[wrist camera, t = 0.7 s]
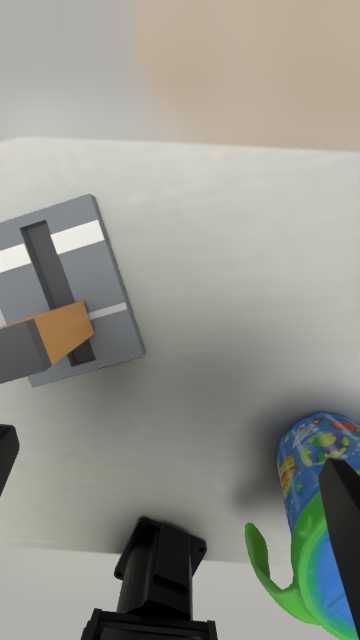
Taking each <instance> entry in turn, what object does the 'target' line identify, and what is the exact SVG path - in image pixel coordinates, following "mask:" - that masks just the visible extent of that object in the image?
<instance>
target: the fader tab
mask: <svg viewBox="0 0 360 640" xmlns="http://www.w3.org/2000/svg"><path fill="white" fill-rule="evenodd" d="M93 334H95V333H94V331H93V328H92V325H91V322H90V319H89V316H88V314H87V311H86V308H85V305H84V302H83V301H79V302H76V303H73V304H69V305H66V306H63V307H59V308H56V309H53V310H49V311H46V312H43V313H39V314H36V315H33V316H30V317H27V318H25V319H22V320H19V321H16V322H13V323H10V324H7V325H4V326H1V327H0V384H1V383H5V382H8V381H12V380H15V379H19V378H22V377H26V376H29V375H33V374H36V373H40V372H43V371H46V370H47V369H48V368H50V367H51V366H52V365H54V364H55V363H56V362H58V361H59V360H60V359H61V358H63V357H64V356H65V355H67V354H68V353H69V352H71V351H72V350H73V349H75V348H76V347H77V346H79V345H80V344H81V343H83V342H84V341H85V340H87V339H88V338H89V337H91V336H92V335H93Z"/></svg>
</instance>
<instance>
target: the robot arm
mask: <svg viewBox="0 0 360 640" xmlns="http://www.w3.org/2000/svg"><path fill="white" fill-rule="evenodd" d="M18 451H19V440H18V437H17V433H16V429H15V427H14V426H13V425H5V424H0V496H1V494H2V491H3V489H4V486H5V484H6V481H7V479H8V476H9V474H10V471H11V469H12V466H13V464H14V462H15V459H16V457H17V454H18ZM318 481H319V487H320V492H321V498H322V503H323V508H324V513H325V518H326V524H327V529H328V534H329V538H330V543H331V546H332V550H333V554H334V557H335V560H336V564H337V567H338V571H339V574H340V577H341V581H342V584H343V588H344V591H345V594H346V598H347V601H348V605H349V608H350V611H351V615H352V618H353V622H354V625H355V628H356V632H357V635H358V639H359V640H360V475H359V474H358V473H357V472H356V471H355V470H354V469H353V468H352V467H351V466H350V465H349V464H348V463H347V462H346V461H345V460H344V459H342V458H335V457H328V458H327V459H326V461H325V463H324V465H323V467H322V469H321V471H320V473H319V477H318ZM142 524H144V525H142ZM200 547H202V548H200ZM206 551H207V545H206V543H205V542H204V541H202V540H200V539H197V538H194V537H192V536H189V535H187V534H184V533H182V532H179V531H177V530H174V529H172V528H169V527H167V526H164V525H162V524H159V523H157V522H154V521H152V520H149V519H147V518H140V519H139V520H138V522H137V524H136V526H135V528H134V530H133V532H132V534H131V536H130V538H129V540H128V542H127V545H126V547H125V549H124V551H123V553H122V555H121V557H120V559H119V561H118V564H117V566H116V568H115V571H114V576H115V577H116V578H117V579H120V580H122V581H123V582H122V587H121V592H120V597H119V601H118V607H117V611H116V612H109V611H102V609H97V608H95V609H94V611H93V614H92V617H91V619H90V621H88V622H87V625H86V627H85V628H84V630H83V634H82V637H81V640H218V639H217V632H216V625H215V621H210V620H207V622H203V621H194V620H193V614H192V613H193V611H192V607H193V606H192V577H193V575H194V573H195V572H196V570H197V568H198V566H199V564H200V562H201V561H202V559H203V557H204V555H205V553H206Z"/></svg>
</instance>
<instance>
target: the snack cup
mask: <svg viewBox="0 0 360 640" xmlns="http://www.w3.org/2000/svg"><path fill="white" fill-rule="evenodd" d="M328 457H335V458H342V459H344V460H345V461H346V462H347V463H348V464H349V465H350V466H351V467H352V468H353V469H354V470H355V471H356V472H357V473H358V474H359V475H360V424H357V423H356V422H354V421H353V420H351V419H349V418H347V417H344V416H342V415H338V414H329V413H325V412H321V413H316V414H314V415H313V416H311V417H307V418H304V419H302V420H300V421H298V422H297V423H296V424H295V425H294V426H293V427H292V428H291V429H290V430H289V431H288V432H287V433H286V434H285V435H284V436H283V437H281V439H280V441H279V450H278V454H277V468H278V473H279V478H280V483H281V488H282V494H283V498H284V503H285V508H286V514H287V519H288V523H289V526H290V531H291V564H292V568H293V573H294V576H293V582H292V584H290V586H289V587H288V588H286V589H284V590H281V589H280V588H279V587H278V586H277V585H276V584H275V583H274V582H273V581H272V580H270V571H269V564H268V550H267V546H266V542H265V540H264V538H263V536H262V535H261V533H260V532H259V530H258V529H257V528H256V527H255V526H254V525H253V524H252V523H247V524H246V525H245V538H246V545H247V550H248V554H249V557H250V560H251V563H252V566H253V568H254V570H255V573H256V575H257V577H258V579H259V580H260V582H261V583H262V585H263V586H264V587H265V589H266V590H267V591H268V592H269V594H270V595H271V596H272V597H273V598H274V600H275V601H276V602H277V603H278V604H279V605H280V606H281V607H282V608H283V609H284V610H286V611H287V612H288V613H289V614H291V615H292V616H294V618H296V619H299V620H301V621H303V622H305V623H309V624H315V625H320V626H322V627H323V628H324V629H326V630H327V631H328V632H329V633H331V634H333V635H334V636H336V637H337V638H339V639H340V640H359V639H358V635H357V632H356V628H355V625H354V622H353V618H352V615H351V611H350V608H349V605H348V601H347V598H346V594H345V591H344V588H343V584H342V581H341V577H340V574H339V571H338V567H337V564H336V560H335V557H334V554H333V550H332V546H331V543H330V538H329V534H328V529H327V524H326V518H325V513H324V508H323V503H322V498H321V492H320V487H319V481H318V477H319V473H320V471H321V469H322V467H323V465H324V463H325V461H326V459H327V458H328Z"/></svg>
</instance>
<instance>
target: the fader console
mask: <svg viewBox="0 0 360 640" xmlns="http://www.w3.org/2000/svg"><path fill="white" fill-rule="evenodd" d="M79 301H83V302H84V305H85V308H86V311H87V314H88V316H89V319H90V322H91V325H92V328H93V331H94V333H95V334H93V335H92V336H91V337H89V338H88V339H87V340H85V341H84V342H83V343H81V344H80V345H79V346H77V347H76V348H75V349H73V350H72V351H71V352H69V353H68V354H67V355H65V356H64V357H63V358H61V359H60V360H59V361H58V362H56V363H55V364H54V365H52V366H51V367H50V368H48V369H47V370H46V371H43V372H40V373H36V374H33V375H29V376H28V378H29V380H30V383H31V385H32V387H36V386H39V385H43V384H46V383H50V382H54V381H57V380H61V379H64V378H68V377H71V376H75V375H79V374H82V373H86V372H89V371H93V370H97V369H100V368H104V367H107V366H111V365H114V364H118V363H122V362H125V361H129V360H132V359H136V358H139V357H143V356H144V354H145V349H144V346H143V343H142V340H141V337H140V334H139V331H138V328H137V325H136V321H135V318H134V315H133V312H132V309H131V306H130V303H129V300H128V297H127V294H126V291H125V288H124V285H123V282H122V279H121V276H120V273H119V270H118V266H117V263H116V260H115V257H114V254H113V251H112V248H111V245H110V242H109V239H108V236H107V233H106V230H105V227H104V224H103V221H102V218H101V215H100V212H99V208H98V205H97V202H96V199H95V197H94V196H92V195H91V194H87V195H84V196H81V197H78V198H75V199H72V200H69V201H66V202H63V203H60V204H56V205H53V206H50V207H47V208H44V209H41V210H38V211H35V212H32V213H29V214H26V215H23V216H20V217H17V218H14V219H11V220H8V221H5V222H2V223H0V308H1V311H2V313H3V316H4V318H5V321H6V323H7V324H10V323H13V322H16V321H19V320H22V319H25V318H27V317H30V316H33V315H36V314H39V313H43V312H46V311H49V310H53V309H56V308H59V307H63V306H66V305H69V304H73V303H76V302H79Z"/></svg>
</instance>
